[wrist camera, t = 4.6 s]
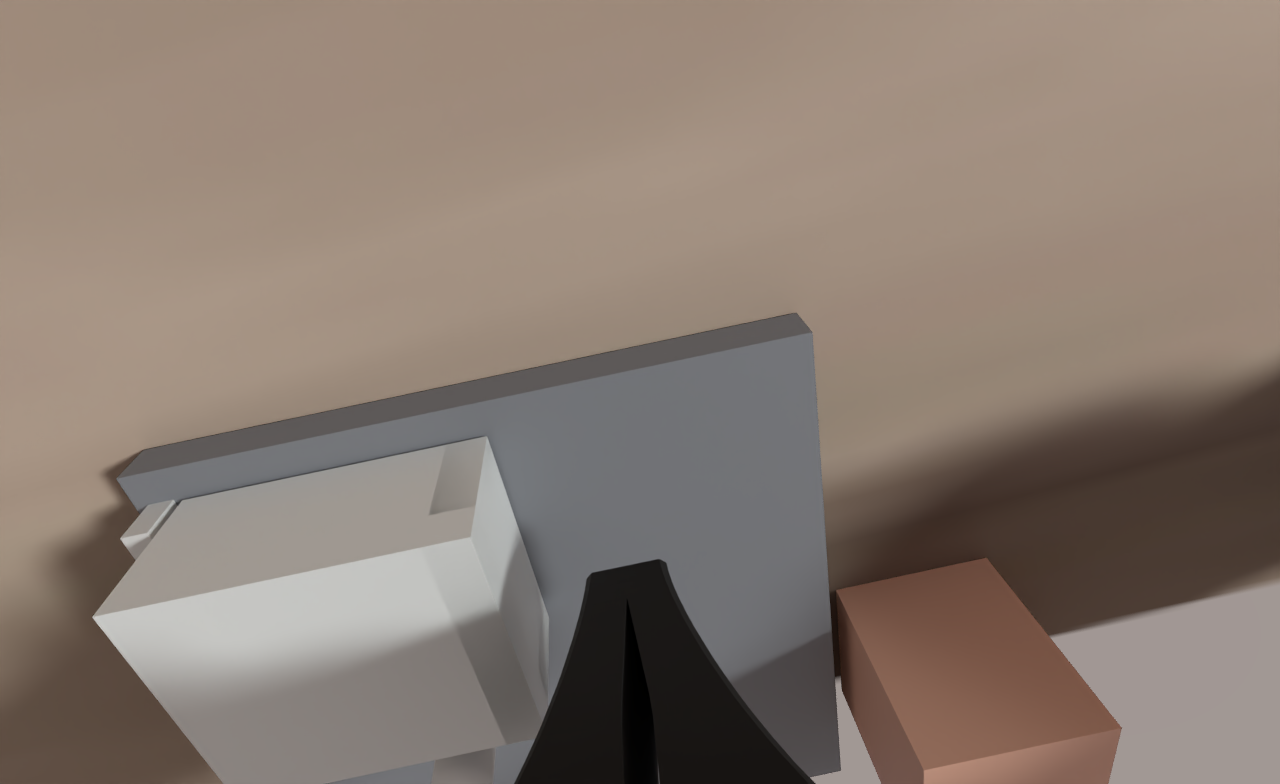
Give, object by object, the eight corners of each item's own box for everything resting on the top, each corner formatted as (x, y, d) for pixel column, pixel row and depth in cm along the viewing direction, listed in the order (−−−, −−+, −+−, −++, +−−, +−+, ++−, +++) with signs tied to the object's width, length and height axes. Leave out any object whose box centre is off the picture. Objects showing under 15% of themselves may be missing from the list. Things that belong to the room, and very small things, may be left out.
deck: (796, 312, 14) (875, 409, 11) (828, 739, 21) (883, 883, 17) (143, 449, 14) (7, 593, 11) (386, 834, 21) (352, 999, 17)
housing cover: (486, 436, 14) (470, 537, 11) (548, 617, 16) (548, 736, 13) (181, 500, 14) (92, 617, 11) (290, 672, 16) (238, 802, 13)
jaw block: (985, 556, 18) (1121, 727, 14) (977, 660, 20) (1094, 839, 16) (835, 588, 18) (923, 770, 14) (841, 689, 20) (921, 877, 16)
